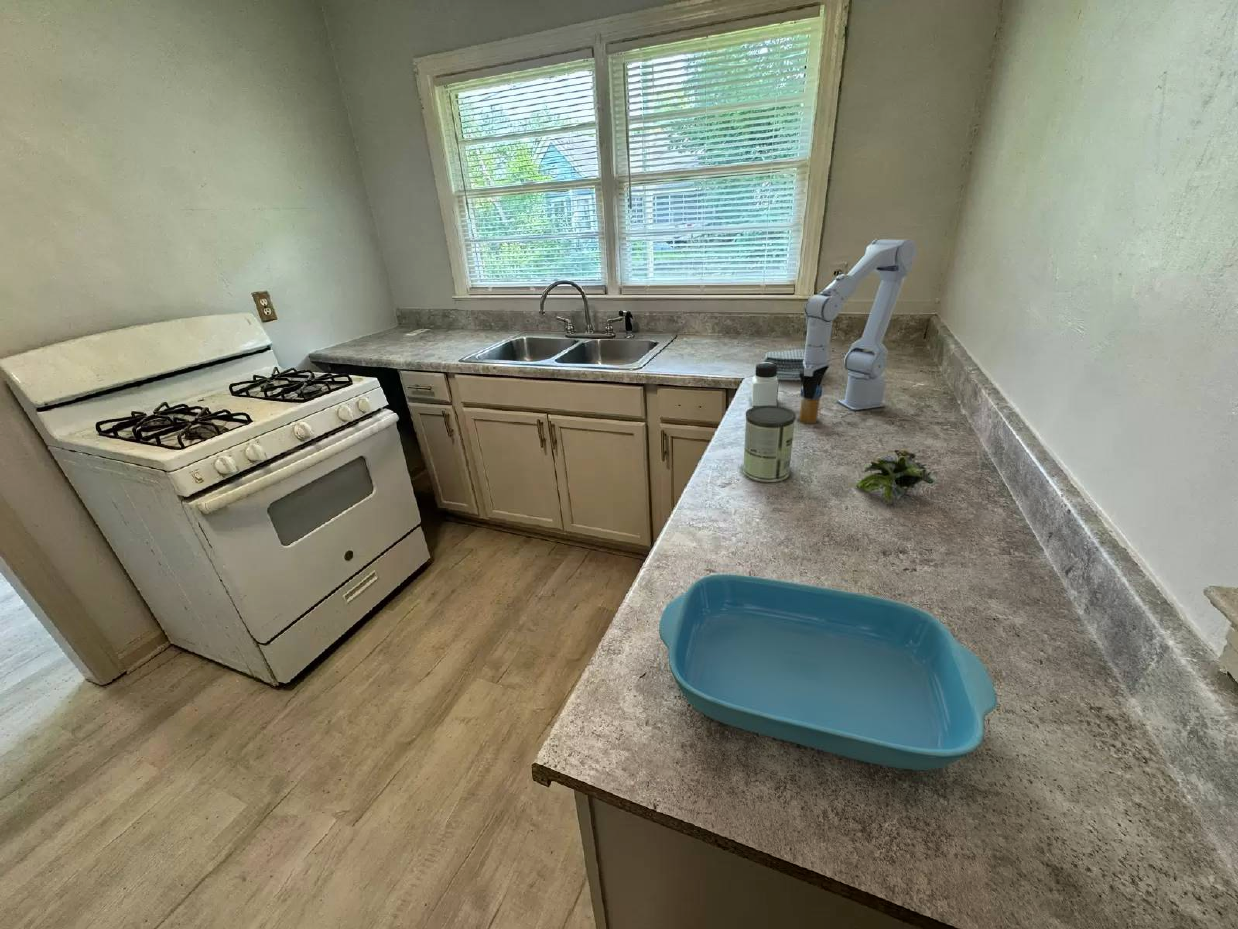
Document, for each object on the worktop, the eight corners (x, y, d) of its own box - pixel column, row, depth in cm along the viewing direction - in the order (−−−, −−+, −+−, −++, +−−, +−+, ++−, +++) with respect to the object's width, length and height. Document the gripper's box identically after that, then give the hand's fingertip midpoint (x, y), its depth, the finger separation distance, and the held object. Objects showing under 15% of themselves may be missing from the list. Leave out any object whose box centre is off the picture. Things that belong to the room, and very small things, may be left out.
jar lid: (798, 398, 132) (799, 389, 131) (802, 391, 136) (803, 383, 135) (819, 400, 130) (820, 391, 128) (822, 393, 134) (824, 385, 132)
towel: (817, 381, 164) (820, 358, 161) (760, 380, 169) (762, 357, 165) (813, 368, 177) (816, 346, 174) (761, 367, 182) (762, 346, 178)
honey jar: (806, 415, 139) (810, 386, 135) (820, 420, 135) (824, 390, 131) (795, 420, 137) (798, 390, 133) (809, 424, 133) (813, 394, 129)
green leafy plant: (892, 510, 104) (940, 471, 98) (895, 529, 95) (948, 487, 89) (849, 474, 106) (894, 434, 100) (848, 490, 97) (897, 446, 91)
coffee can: (744, 459, 117) (748, 403, 111) (790, 463, 114) (796, 406, 108) (739, 480, 109) (743, 420, 102) (788, 485, 106) (795, 424, 99)
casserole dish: (950, 645, 66) (964, 605, 63) (1011, 822, 47) (1036, 778, 44) (678, 598, 77) (678, 562, 74) (640, 727, 58) (638, 685, 55)
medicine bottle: (776, 406, 146) (780, 367, 141) (751, 406, 148) (754, 367, 142) (774, 398, 153) (778, 360, 147) (751, 398, 154) (753, 360, 149)
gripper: (828, 352, 119) (821, 405, 125) (839, 338, 130) (832, 388, 136) (798, 350, 122) (792, 401, 129) (811, 337, 133) (806, 385, 139)
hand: (811, 394), depth 133 cm, fingers closed on jar lid, 5 cm apart
